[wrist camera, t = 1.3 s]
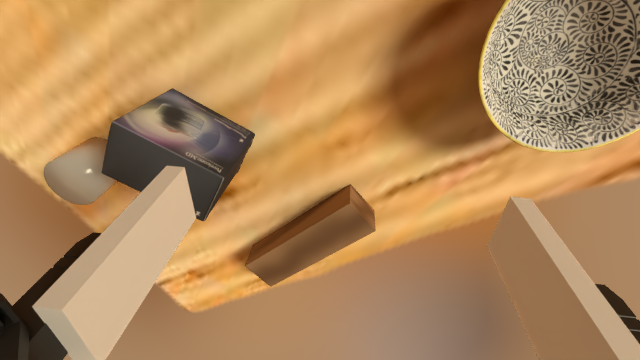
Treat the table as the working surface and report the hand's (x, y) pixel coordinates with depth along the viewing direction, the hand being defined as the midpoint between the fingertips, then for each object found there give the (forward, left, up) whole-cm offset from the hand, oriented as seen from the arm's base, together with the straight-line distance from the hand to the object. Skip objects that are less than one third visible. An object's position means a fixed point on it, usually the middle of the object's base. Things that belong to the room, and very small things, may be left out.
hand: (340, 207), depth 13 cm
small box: (-5, -17, -23) cm, 29 cm away
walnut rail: (+13, -17, -23) cm, 31 cm away
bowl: (+9, +16, -23) cm, 29 cm away
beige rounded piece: (-11, -31, -23) cm, 40 cm away
